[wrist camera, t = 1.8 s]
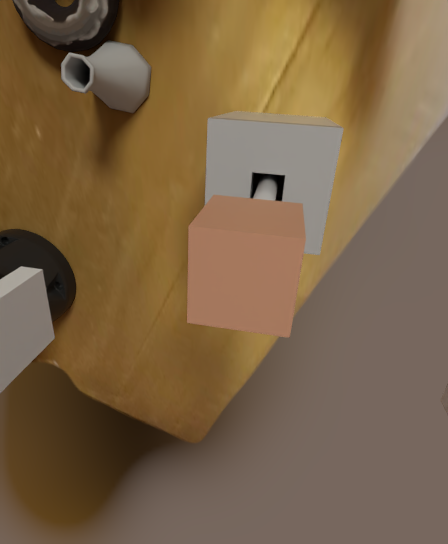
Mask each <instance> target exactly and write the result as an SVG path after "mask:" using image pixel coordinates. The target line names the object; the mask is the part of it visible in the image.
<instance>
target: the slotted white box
mask: <svg viewBox="0 0 448 544" xmlns="http://www.w3.org/2000/svg"><path fill="white" fill-rule="evenodd" d="M342 133H343V128H342V127H341V126H339V125H338V124H336V123H334V122H333V121H331V120H329V119H328V118H326V117H314V116H300V115H285V114H271V113H257V112H242V111H234V112H230V113H226V114H222V115H219V116H215V117H211V118H208V131H207V160H206V188H205V205H206V204H207V202H208V201H209V200H210V199H211V197H212V196H213V195H222V196H232V197H243V198H253V197H254V195H255V192H256V189H257V187H258V184H259V181H260V179H261V177H262V175H263V174H276V176H277V177H278V187H277V194H276V200H275V201H283V202H293V203H302V204H303V214H304V224H305V234H306V242H305V248H304V253H307V254H315V255H320V251H321V245H322V240H323V235H324V229H325V224H326V219H327V213H328V208H329V203H330V197H331V192H332V187H333V181H334V176H335V171H336V165H337V160H338V155H339V149H340V144H341V139H342Z"/></svg>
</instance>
